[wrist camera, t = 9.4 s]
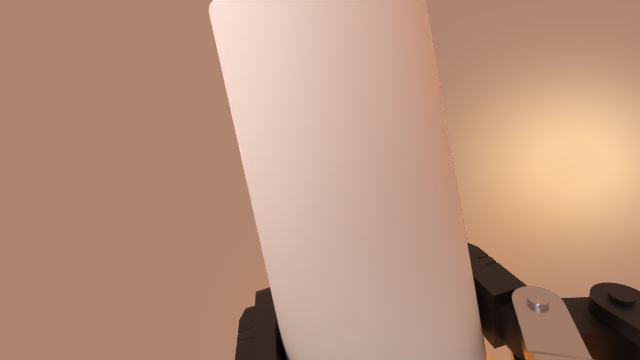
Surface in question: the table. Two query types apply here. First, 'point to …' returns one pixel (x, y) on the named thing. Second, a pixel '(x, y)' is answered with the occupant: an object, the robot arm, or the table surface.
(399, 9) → the champagne flute
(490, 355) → the table surface
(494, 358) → the table surface
